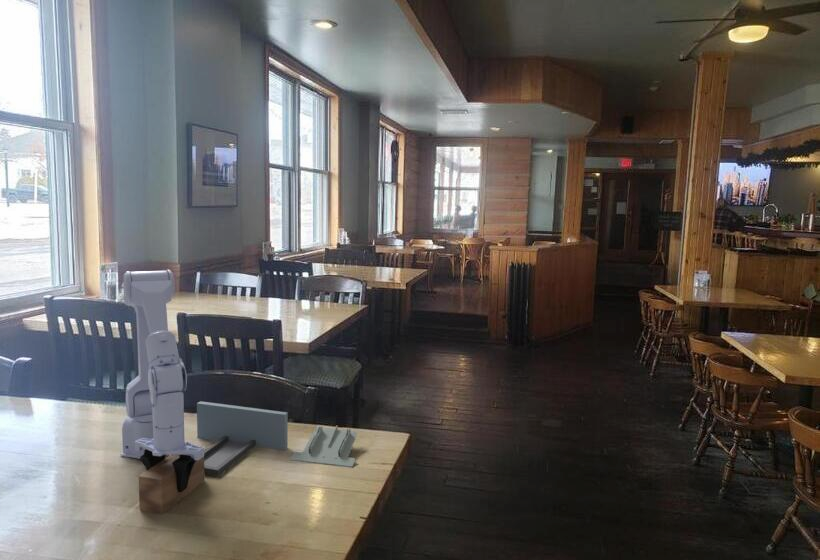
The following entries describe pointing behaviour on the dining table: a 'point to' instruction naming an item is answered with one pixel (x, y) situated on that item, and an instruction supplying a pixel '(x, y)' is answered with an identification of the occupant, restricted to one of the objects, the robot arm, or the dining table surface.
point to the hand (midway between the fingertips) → (170, 487)
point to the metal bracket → (328, 448)
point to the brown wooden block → (165, 485)
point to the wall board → (237, 433)
